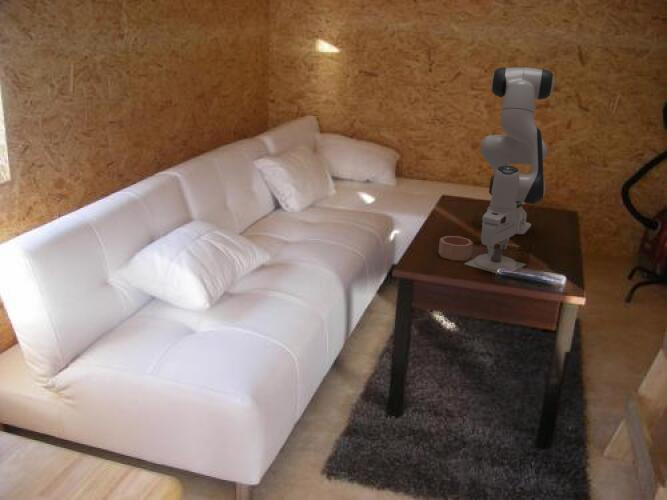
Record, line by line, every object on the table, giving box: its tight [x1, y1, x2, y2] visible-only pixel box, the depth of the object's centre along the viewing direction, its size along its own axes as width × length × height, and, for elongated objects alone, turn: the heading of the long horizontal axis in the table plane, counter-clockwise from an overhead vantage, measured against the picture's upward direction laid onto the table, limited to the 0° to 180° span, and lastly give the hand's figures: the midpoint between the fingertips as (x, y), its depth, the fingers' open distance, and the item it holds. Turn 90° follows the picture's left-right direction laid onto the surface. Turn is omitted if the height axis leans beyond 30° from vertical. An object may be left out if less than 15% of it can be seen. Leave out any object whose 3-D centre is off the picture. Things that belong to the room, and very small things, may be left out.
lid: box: [474, 247, 517, 271], centre depth 226 cm, size 14×14×5 cm
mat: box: [464, 253, 527, 274], centre depth 227 cm, size 16×16×1 cm
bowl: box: [437, 235, 474, 261], centre depth 233 cm, size 11×11×6 cm
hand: (496, 252), depth 225 cm, fingers open, 8 cm apart
